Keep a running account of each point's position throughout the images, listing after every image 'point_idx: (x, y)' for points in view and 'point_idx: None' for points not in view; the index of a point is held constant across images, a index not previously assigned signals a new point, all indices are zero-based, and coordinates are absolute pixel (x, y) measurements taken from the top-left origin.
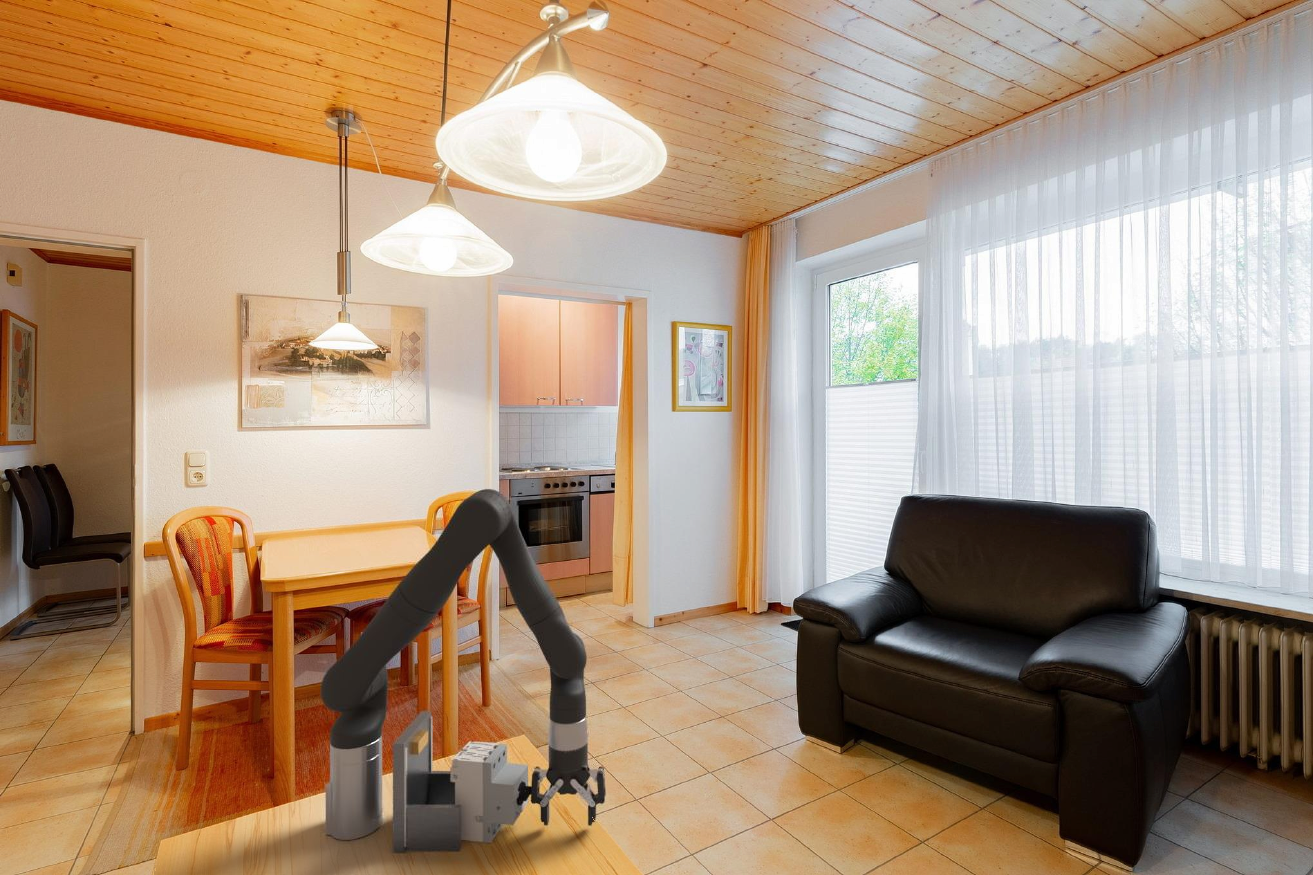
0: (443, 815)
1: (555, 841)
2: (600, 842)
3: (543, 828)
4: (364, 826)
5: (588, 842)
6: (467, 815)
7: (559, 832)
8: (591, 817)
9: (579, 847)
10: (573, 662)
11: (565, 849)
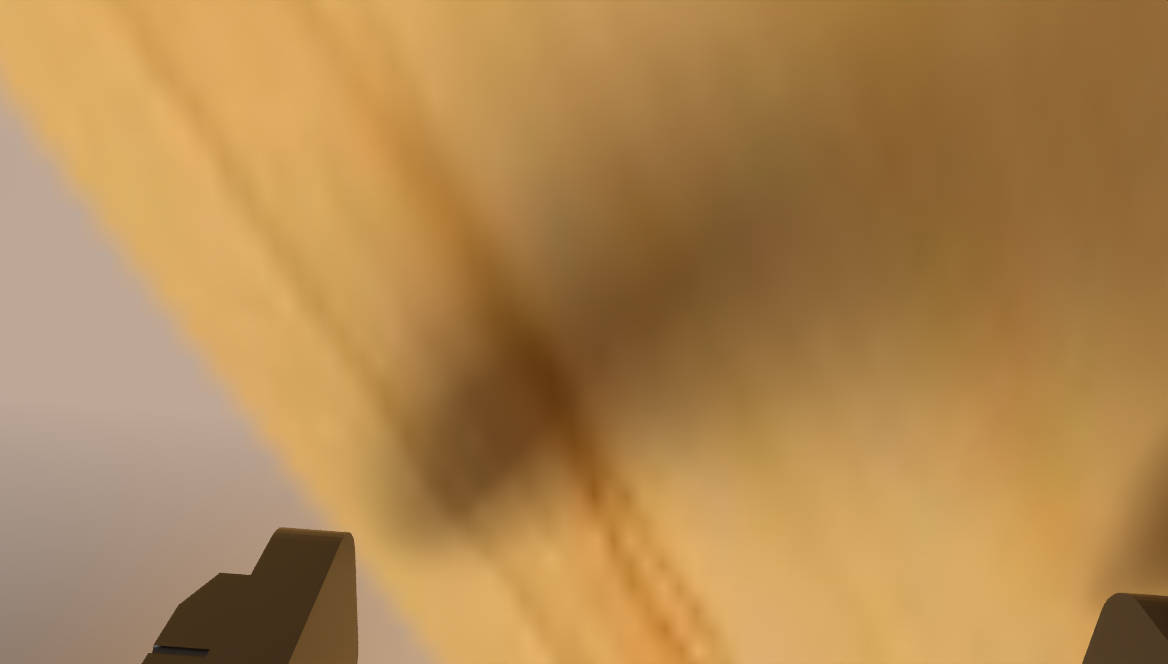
0: None
1: (937, 286)
2: (126, 201)
3: None
4: None
5: (342, 216)
6: None
7: (858, 503)
8: (225, 623)
9: (490, 83)
10: None
11: (756, 40)
